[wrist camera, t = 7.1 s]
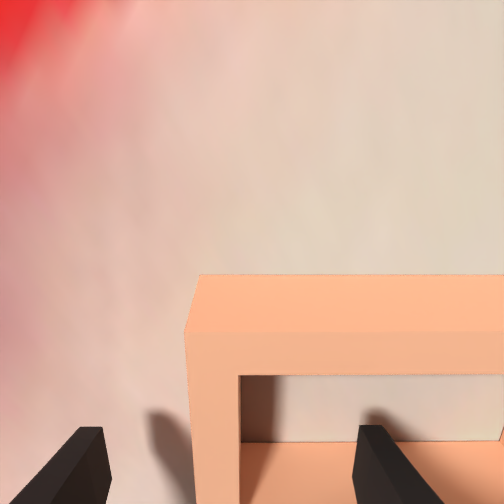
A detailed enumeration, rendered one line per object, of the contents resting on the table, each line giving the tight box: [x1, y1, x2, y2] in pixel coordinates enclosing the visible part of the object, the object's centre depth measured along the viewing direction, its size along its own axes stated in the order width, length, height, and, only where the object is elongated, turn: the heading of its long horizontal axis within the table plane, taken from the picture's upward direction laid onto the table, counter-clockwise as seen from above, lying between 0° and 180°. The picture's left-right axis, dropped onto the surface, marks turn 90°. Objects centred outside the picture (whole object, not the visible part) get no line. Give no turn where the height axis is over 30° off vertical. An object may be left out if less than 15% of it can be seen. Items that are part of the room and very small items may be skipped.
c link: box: [184, 275, 504, 504], centre depth 11 cm, size 12×8×3 cm, turn 90°
